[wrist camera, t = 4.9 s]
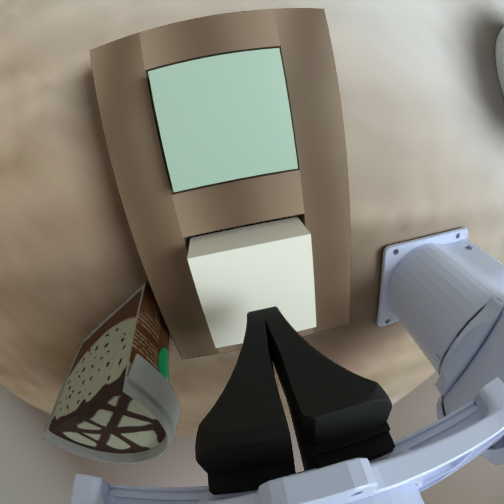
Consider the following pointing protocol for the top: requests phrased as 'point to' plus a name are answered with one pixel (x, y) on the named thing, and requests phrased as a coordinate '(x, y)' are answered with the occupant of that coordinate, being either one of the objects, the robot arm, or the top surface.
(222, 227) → the key console
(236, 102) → the sage key
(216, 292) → the cream key
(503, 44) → the ramekin
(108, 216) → the top surface
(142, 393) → the food container
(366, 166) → the top surface
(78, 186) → the top surface
